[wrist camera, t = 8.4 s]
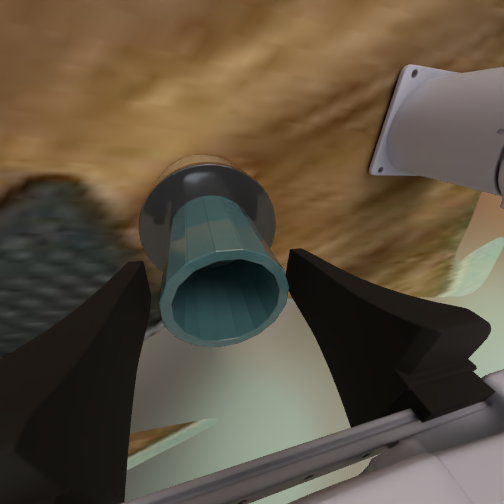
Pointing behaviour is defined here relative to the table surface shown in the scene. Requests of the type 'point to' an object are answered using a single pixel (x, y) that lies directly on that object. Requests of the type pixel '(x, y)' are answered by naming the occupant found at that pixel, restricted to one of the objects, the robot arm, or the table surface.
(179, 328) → the cup
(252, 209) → the jar
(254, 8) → the table surface
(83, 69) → the table surface
